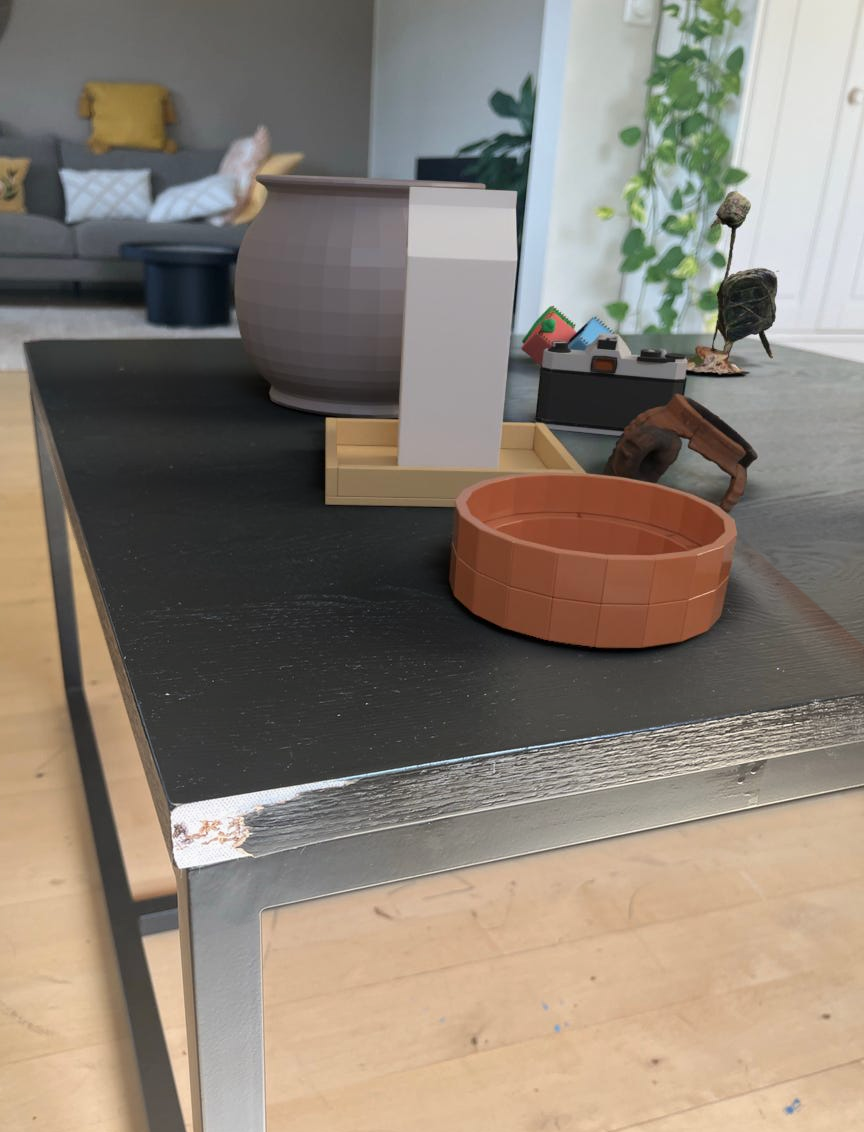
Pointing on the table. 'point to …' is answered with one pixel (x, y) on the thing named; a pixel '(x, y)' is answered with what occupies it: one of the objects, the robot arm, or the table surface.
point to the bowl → (591, 558)
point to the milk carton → (456, 326)
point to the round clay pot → (328, 291)
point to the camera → (605, 385)
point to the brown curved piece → (658, 445)
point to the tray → (373, 478)
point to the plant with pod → (738, 300)
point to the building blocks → (560, 333)
